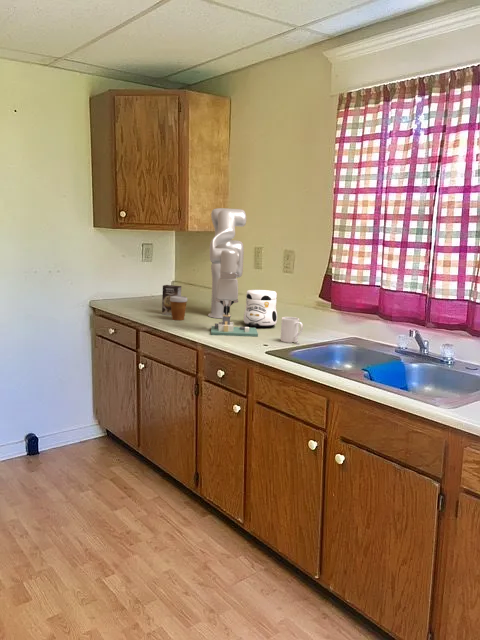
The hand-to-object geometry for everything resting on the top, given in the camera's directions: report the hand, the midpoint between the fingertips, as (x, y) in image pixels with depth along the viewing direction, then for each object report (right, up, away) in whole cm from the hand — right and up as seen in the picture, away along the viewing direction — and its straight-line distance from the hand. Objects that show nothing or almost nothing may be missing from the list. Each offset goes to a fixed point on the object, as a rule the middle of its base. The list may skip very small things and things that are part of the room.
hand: (226, 314), depth 269 cm
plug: (0, -7, +1) cm, 8 cm away
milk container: (+17, -6, +22) cm, 28 cm away
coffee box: (-32, 0, +46) cm, 56 cm away
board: (+4, -9, +2) cm, 10 cm away
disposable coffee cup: (-26, -3, +30) cm, 40 cm away
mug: (+30, -13, -14) cm, 36 cm away
